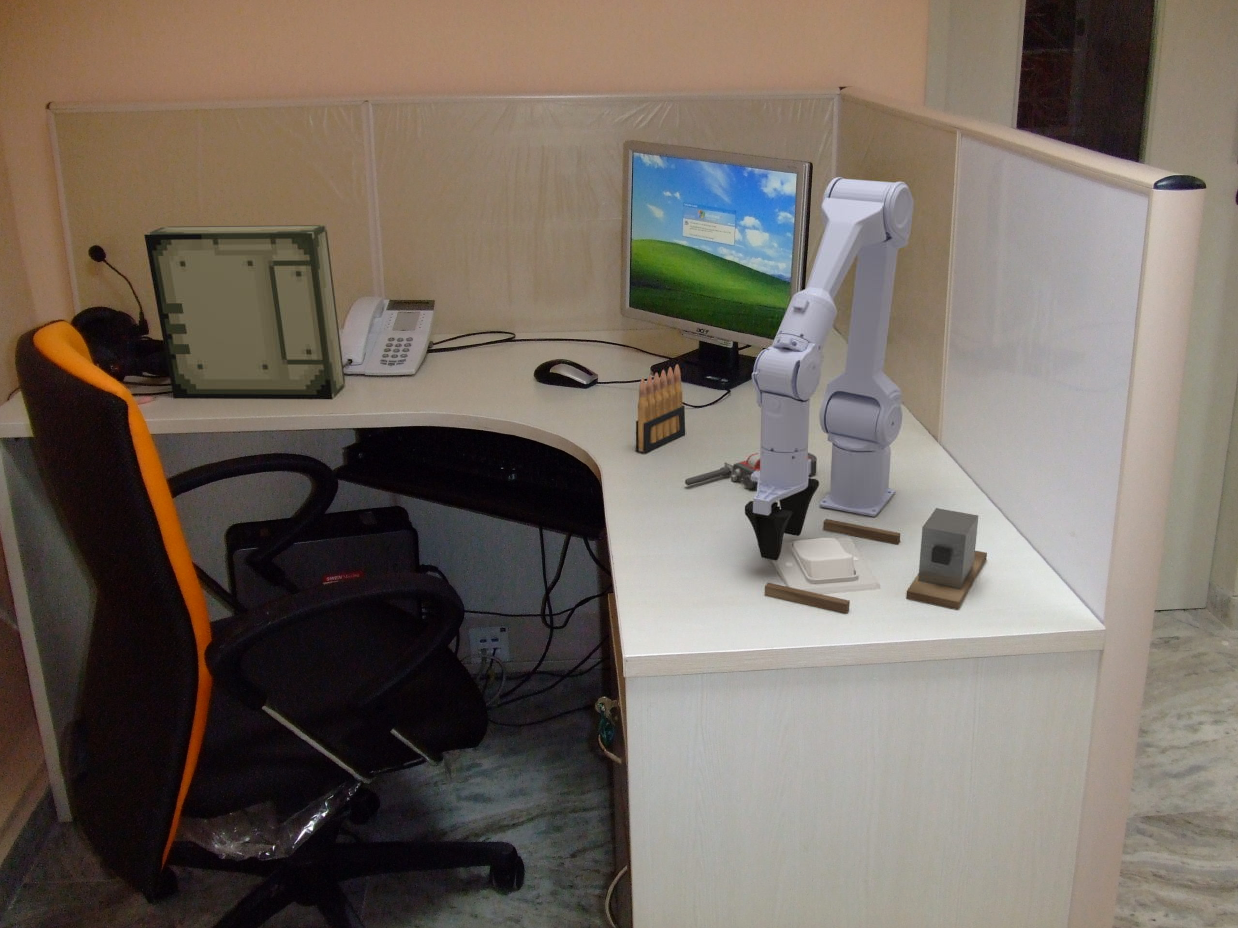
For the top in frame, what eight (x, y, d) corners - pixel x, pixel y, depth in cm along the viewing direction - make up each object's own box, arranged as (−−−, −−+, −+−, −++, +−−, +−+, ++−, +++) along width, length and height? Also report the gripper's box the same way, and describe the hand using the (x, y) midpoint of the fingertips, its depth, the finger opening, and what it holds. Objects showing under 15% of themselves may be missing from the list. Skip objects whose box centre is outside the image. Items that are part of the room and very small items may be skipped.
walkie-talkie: (786, 457, 177) (681, 488, 167) (786, 431, 175) (681, 460, 165) (825, 475, 170) (718, 508, 160) (826, 447, 169) (719, 479, 158)
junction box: (932, 559, 141) (936, 507, 138) (973, 567, 139) (979, 514, 136) (916, 583, 135) (920, 529, 133) (959, 592, 133) (964, 537, 130)
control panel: (345, 386, 215) (326, 225, 204) (332, 399, 208) (311, 233, 197) (191, 385, 218) (164, 226, 207) (173, 398, 211) (144, 234, 200)
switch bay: (825, 526, 153) (825, 518, 152) (899, 541, 148) (900, 532, 148) (764, 594, 136) (764, 585, 135) (846, 613, 131) (846, 604, 131)
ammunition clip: (644, 454, 179) (643, 380, 174) (635, 452, 180) (633, 378, 176) (685, 434, 187) (685, 363, 182) (676, 432, 188) (675, 361, 183)
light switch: (793, 576, 134) (766, 524, 145) (791, 606, 136) (765, 553, 147) (883, 569, 135) (849, 518, 147) (880, 599, 137) (847, 546, 148)
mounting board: (937, 550, 145) (938, 543, 145) (986, 559, 143) (987, 552, 142) (906, 598, 134) (906, 590, 134) (958, 609, 131) (958, 601, 131)
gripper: (775, 421, 147) (772, 518, 152) (729, 459, 136) (728, 562, 141) (828, 429, 144) (823, 527, 149) (786, 468, 132) (783, 574, 137)
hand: (781, 545), depth 145 cm, fingers open, 7 cm apart
